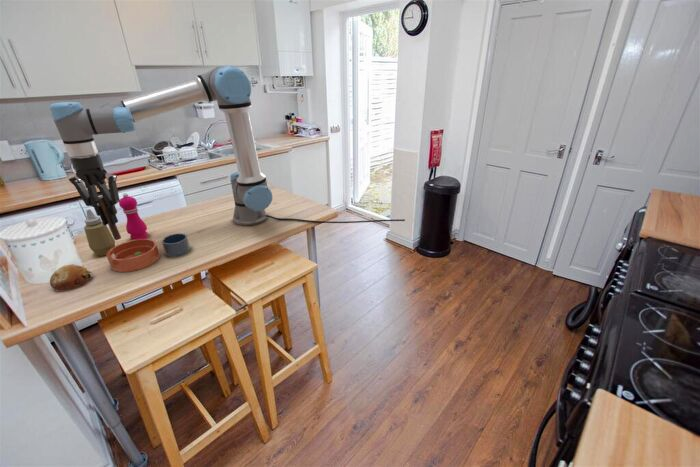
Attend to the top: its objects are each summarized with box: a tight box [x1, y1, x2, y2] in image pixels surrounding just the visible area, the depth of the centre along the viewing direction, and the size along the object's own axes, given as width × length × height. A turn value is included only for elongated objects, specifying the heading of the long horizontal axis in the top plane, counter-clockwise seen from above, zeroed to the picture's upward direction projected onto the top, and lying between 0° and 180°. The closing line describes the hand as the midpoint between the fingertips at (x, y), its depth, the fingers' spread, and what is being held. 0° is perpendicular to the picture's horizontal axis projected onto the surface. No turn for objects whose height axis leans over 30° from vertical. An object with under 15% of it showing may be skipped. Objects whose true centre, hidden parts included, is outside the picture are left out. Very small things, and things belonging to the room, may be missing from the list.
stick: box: [97, 195, 122, 241], centre depth 109 cm, size 2×2×16 cm
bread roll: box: [49, 263, 92, 292], centre depth 105 cm, size 10×10×8 cm
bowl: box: [105, 238, 161, 273], centre depth 116 cm, size 16×16×6 cm
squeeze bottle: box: [83, 208, 116, 257], centre depth 120 cm, size 8×8×18 cm
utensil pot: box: [161, 233, 191, 258], centre depth 123 cm, size 9×9×6 cm
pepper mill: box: [118, 193, 149, 240], centre depth 130 cm, size 7×7×20 cm
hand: (111, 223), depth 110 cm, fingers closed on stick, 2 cm apart
